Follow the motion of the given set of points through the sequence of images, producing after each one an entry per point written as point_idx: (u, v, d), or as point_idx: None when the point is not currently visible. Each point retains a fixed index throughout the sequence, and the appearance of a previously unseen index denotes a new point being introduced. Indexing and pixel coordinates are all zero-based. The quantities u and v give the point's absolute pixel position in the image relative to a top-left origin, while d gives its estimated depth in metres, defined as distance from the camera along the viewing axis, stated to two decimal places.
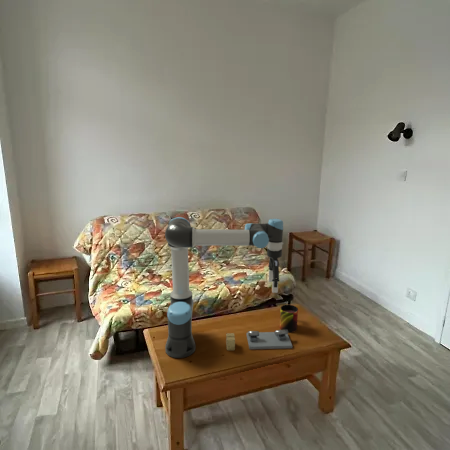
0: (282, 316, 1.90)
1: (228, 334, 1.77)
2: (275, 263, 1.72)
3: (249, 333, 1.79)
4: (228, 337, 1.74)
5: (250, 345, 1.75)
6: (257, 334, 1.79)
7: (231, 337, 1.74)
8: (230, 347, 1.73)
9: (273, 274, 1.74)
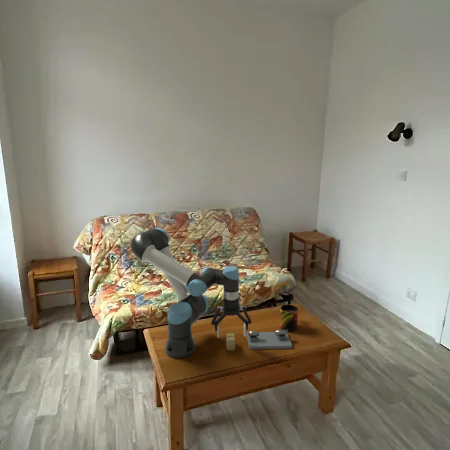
0: (282, 316, 1.91)
1: (228, 334, 1.77)
2: None
3: (249, 333, 1.79)
4: (228, 337, 1.74)
5: (250, 345, 1.75)
6: (257, 334, 1.79)
7: (231, 337, 1.74)
8: (230, 347, 1.73)
9: (218, 318, 1.73)
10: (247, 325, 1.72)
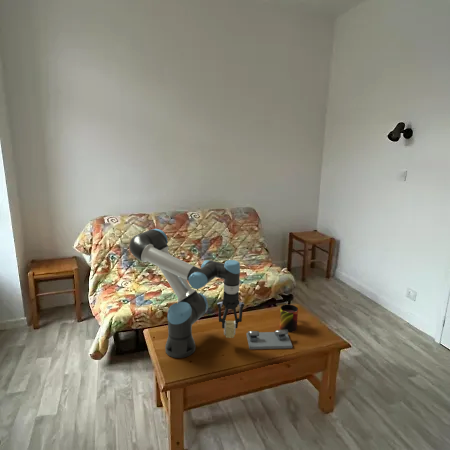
0: (282, 316, 1.91)
1: (227, 321, 1.75)
2: None
3: (249, 333, 1.79)
4: (227, 324, 1.73)
5: (250, 345, 1.75)
6: (257, 334, 1.79)
7: (230, 324, 1.73)
8: (229, 334, 1.72)
9: None
10: (236, 323, 1.72)
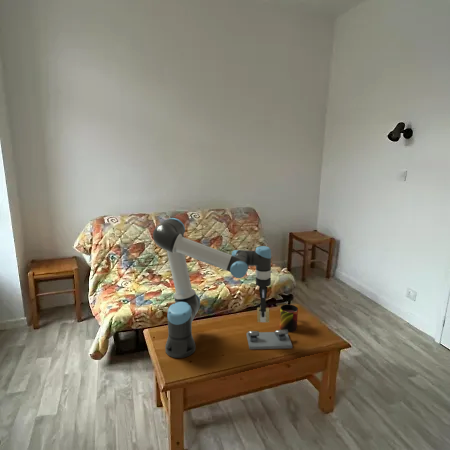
0: (282, 316, 1.91)
1: None
2: (262, 296, 1.67)
3: (249, 333, 1.79)
4: None
5: (250, 345, 1.75)
6: (257, 334, 1.79)
7: None
8: None
9: None
10: (266, 304, 1.78)
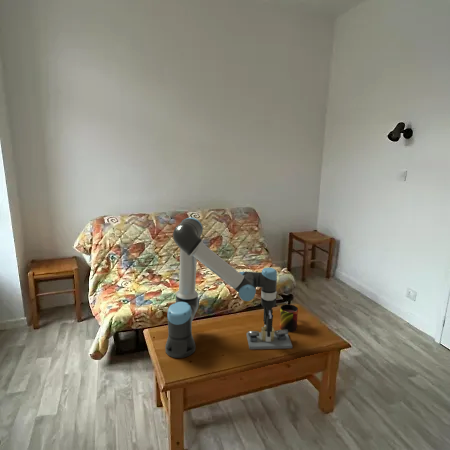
0: (282, 316, 1.91)
1: (264, 329, 1.79)
2: (269, 317, 1.71)
3: (249, 333, 1.79)
4: None
5: (250, 345, 1.75)
6: (257, 334, 1.79)
7: None
8: None
9: (266, 324, 1.75)
10: None
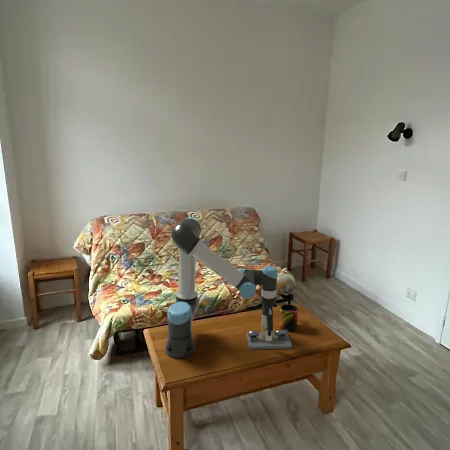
0: (282, 315, 1.91)
1: (264, 329, 1.79)
2: (269, 312, 1.70)
3: (249, 333, 1.79)
4: None
5: (250, 345, 1.75)
6: (257, 334, 1.79)
7: None
8: None
9: (267, 322, 1.72)
10: None
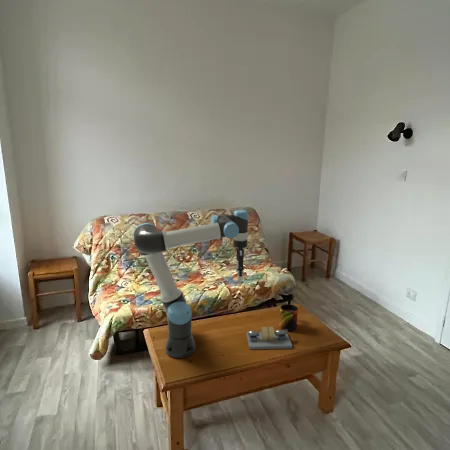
0: (282, 315, 1.91)
1: (264, 329, 1.79)
2: (240, 253, 1.78)
3: (249, 333, 1.79)
4: (270, 329, 1.79)
5: (250, 345, 1.75)
6: (257, 334, 1.79)
7: (269, 328, 1.80)
8: None
9: (238, 263, 1.79)
10: None
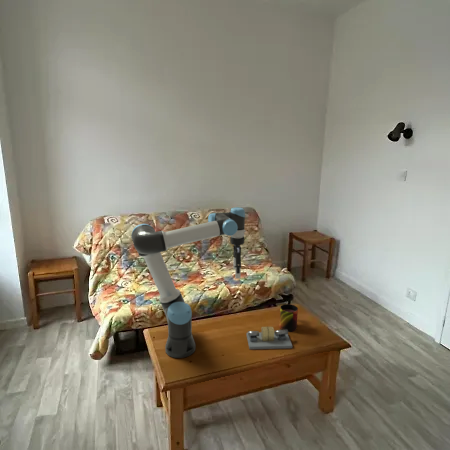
0: (282, 315, 1.91)
1: (264, 329, 1.79)
2: (237, 250, 1.79)
3: (249, 333, 1.79)
4: (270, 329, 1.79)
5: (250, 345, 1.75)
6: (257, 334, 1.79)
7: (269, 328, 1.80)
8: None
9: None
10: None
